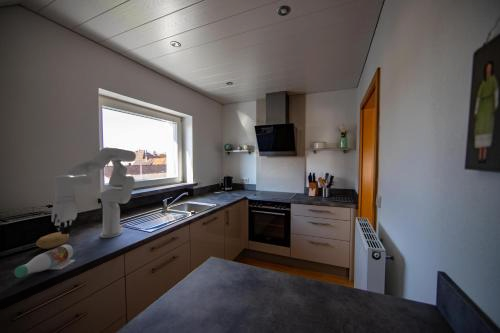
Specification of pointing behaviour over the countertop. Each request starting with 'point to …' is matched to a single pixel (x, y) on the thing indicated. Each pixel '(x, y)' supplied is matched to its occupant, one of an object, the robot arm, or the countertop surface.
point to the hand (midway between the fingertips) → (65, 233)
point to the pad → (62, 264)
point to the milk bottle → (45, 260)
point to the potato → (52, 240)
